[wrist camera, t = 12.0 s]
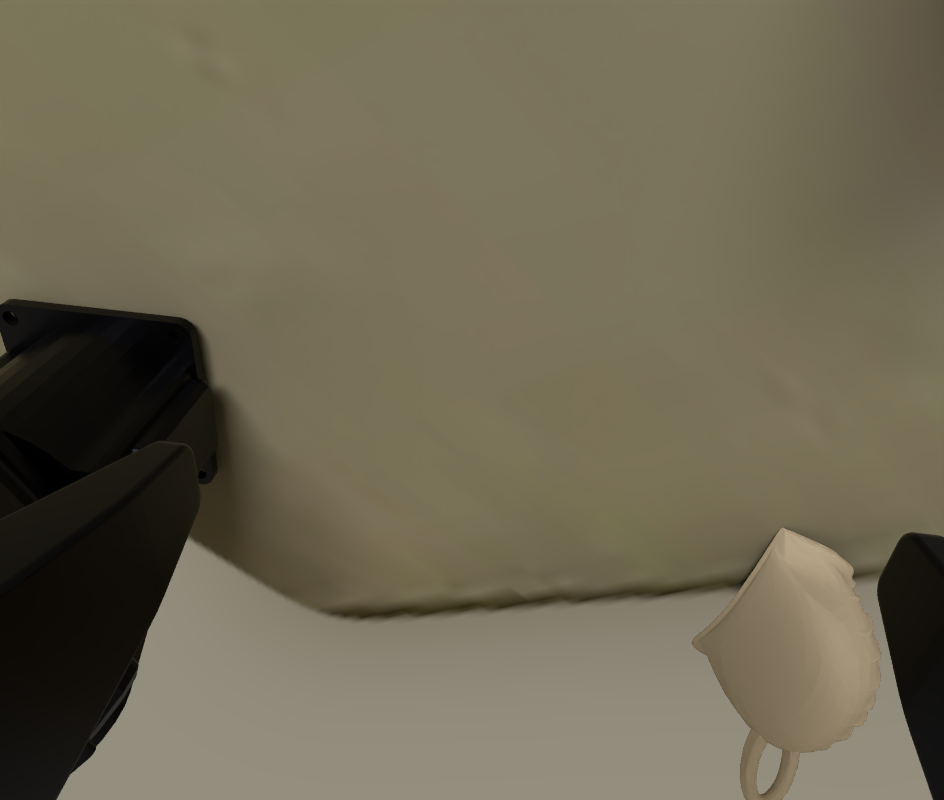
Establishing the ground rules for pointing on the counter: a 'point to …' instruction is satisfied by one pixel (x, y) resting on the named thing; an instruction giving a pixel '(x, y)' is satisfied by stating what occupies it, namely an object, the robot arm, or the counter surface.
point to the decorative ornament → (794, 656)
